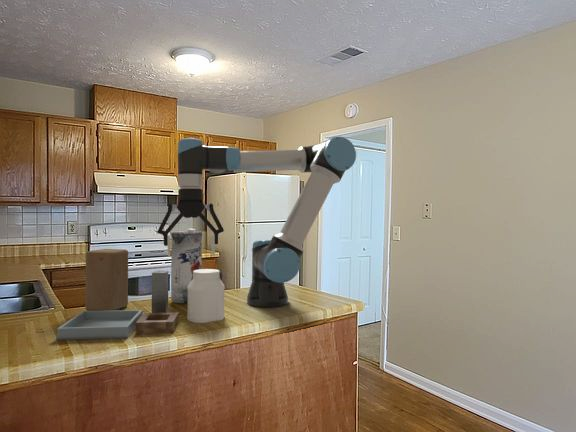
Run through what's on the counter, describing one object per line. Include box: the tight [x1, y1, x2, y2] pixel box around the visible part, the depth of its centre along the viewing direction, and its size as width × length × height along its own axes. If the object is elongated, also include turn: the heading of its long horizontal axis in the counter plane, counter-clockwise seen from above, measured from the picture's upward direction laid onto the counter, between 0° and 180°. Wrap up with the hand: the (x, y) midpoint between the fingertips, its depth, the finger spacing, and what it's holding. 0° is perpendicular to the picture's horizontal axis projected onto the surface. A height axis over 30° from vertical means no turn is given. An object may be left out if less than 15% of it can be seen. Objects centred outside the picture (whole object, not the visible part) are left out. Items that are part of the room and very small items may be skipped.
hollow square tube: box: [135, 312, 179, 334], centre depth 116 cm, size 10×10×3 cm
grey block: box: [151, 270, 169, 313], centre depth 129 cm, size 4×4×14 cm
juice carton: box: [170, 228, 203, 305], centre depth 149 cm, size 9×10×27 cm
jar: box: [186, 268, 226, 324], centre depth 126 cm, size 12×10×15 cm
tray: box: [56, 309, 144, 341], centre depth 114 cm, size 18×18×3 cm
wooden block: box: [84, 248, 129, 311], centre depth 135 cm, size 10×10×20 cm
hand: (191, 255), depth 126 cm, fingers open, 13 cm apart
